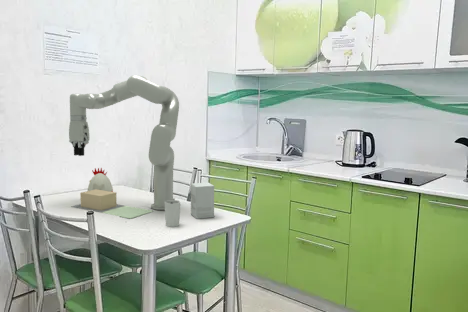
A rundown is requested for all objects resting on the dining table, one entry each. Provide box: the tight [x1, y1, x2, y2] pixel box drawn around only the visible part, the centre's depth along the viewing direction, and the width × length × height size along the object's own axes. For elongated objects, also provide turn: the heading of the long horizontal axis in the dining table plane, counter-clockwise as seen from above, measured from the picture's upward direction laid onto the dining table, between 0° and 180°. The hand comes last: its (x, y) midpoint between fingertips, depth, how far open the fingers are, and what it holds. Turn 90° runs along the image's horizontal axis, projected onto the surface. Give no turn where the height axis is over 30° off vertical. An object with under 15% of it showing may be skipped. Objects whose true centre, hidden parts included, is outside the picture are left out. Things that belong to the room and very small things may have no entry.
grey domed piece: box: [87, 167, 114, 192], centre depth 234 cm, size 14×14×15 cm
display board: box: [70, 203, 154, 220], centre depth 199 cm, size 39×16×1 cm, turn 62°
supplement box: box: [190, 182, 215, 220], centre depth 190 cm, size 9×9×15 cm
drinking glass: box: [164, 199, 181, 227], centre depth 175 cm, size 7×7×10 cm
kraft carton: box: [79, 189, 118, 210], centre depth 202 cm, size 14×10×7 cm
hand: (79, 155), depth 206 cm, fingers closed
